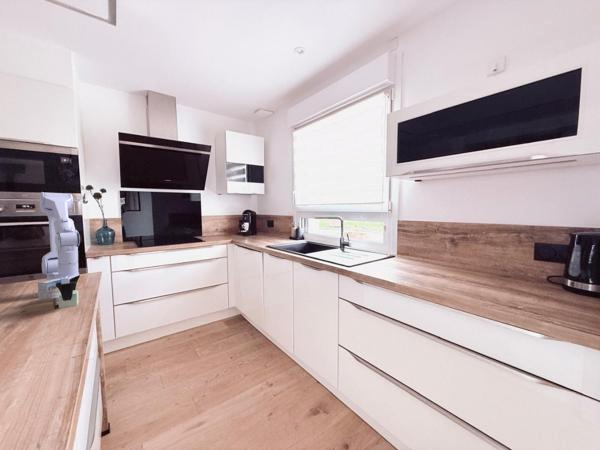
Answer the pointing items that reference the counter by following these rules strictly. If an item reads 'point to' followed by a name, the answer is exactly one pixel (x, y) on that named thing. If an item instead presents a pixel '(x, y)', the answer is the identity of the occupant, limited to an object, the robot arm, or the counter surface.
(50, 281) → the medicine box
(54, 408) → the counter surface
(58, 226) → the robot arm
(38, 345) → the counter surface
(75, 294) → the sage cube
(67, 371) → the counter surface
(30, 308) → the walnut block
